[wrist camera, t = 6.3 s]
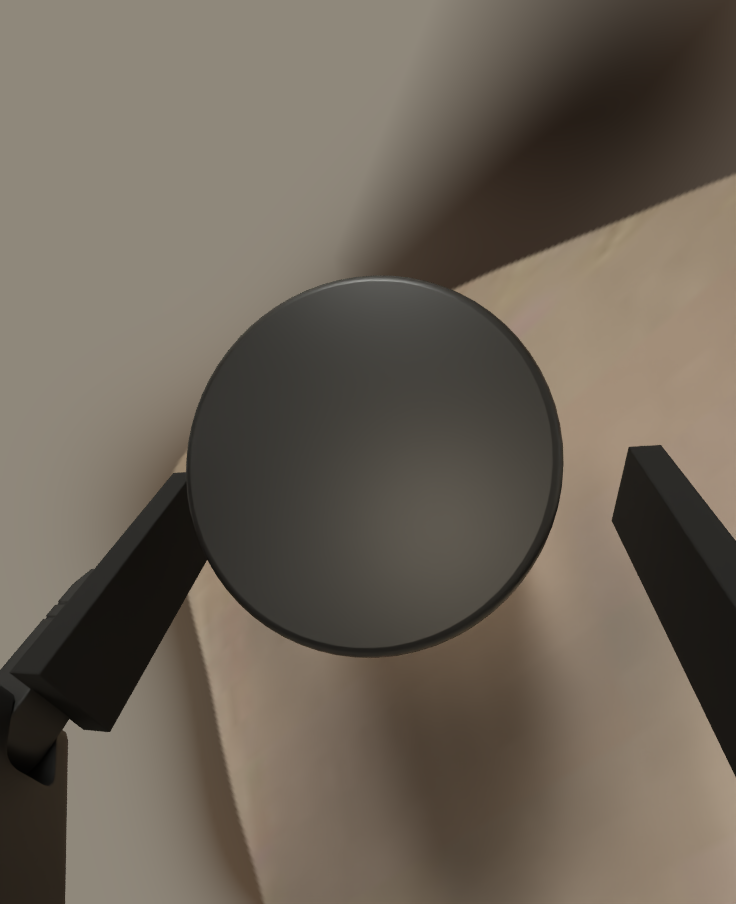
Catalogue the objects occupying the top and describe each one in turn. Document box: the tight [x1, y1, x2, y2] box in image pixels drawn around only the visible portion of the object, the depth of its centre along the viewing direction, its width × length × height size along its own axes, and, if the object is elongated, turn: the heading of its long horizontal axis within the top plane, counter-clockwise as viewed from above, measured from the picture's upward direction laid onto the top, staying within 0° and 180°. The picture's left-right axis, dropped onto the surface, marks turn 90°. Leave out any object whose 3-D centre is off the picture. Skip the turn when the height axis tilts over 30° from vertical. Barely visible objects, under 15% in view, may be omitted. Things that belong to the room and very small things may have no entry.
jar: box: [186, 276, 563, 658], centre depth 14 cm, size 9×8×12 cm
